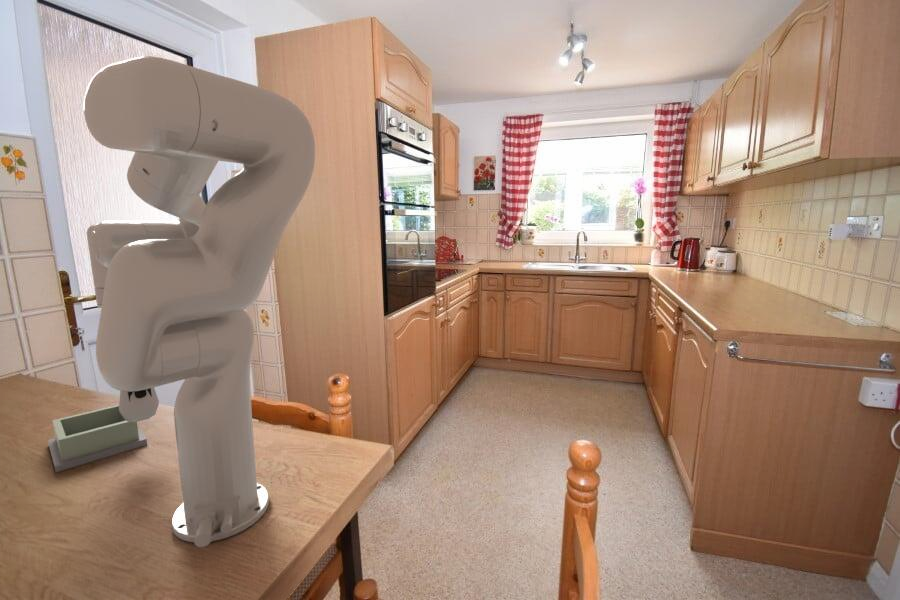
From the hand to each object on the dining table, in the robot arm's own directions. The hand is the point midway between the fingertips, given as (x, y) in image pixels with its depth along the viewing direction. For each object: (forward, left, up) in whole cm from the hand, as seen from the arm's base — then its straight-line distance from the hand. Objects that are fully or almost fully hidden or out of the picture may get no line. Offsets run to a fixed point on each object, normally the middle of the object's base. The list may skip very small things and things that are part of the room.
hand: (138, 397), depth 74 cm
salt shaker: (0, 0, -4) cm, 4 cm away
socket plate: (+9, +9, -12) cm, 17 cm away
